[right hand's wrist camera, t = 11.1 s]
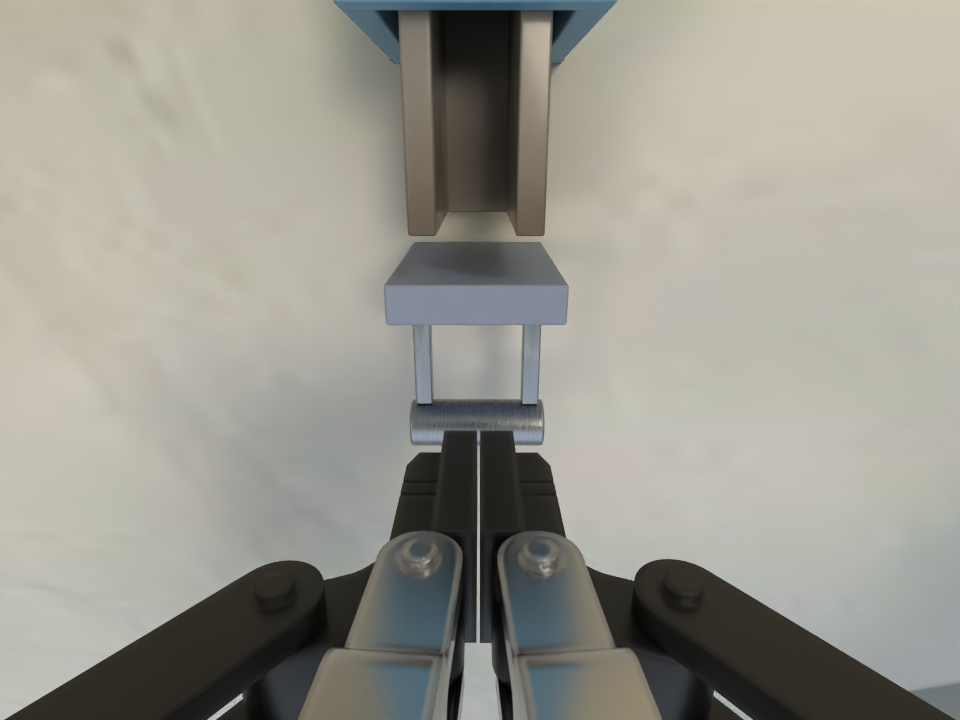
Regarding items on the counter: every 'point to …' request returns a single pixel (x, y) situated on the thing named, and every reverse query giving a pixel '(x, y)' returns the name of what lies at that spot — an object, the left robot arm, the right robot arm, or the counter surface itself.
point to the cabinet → (573, 7)
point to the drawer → (476, 201)
